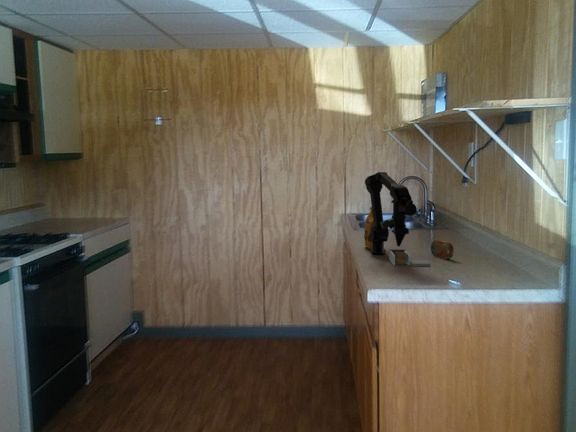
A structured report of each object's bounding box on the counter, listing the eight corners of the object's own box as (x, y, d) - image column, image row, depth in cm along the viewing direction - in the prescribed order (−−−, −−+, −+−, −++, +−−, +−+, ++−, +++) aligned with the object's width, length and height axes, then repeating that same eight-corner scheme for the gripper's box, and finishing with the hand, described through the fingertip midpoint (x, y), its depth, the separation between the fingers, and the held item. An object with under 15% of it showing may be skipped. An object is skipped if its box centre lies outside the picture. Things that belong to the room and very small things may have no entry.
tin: (430, 255, 277) (430, 238, 276) (435, 254, 278) (435, 238, 277) (448, 261, 263) (449, 243, 262) (454, 260, 264) (455, 242, 263)
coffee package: (366, 250, 289) (367, 208, 286) (362, 246, 301) (363, 206, 299) (385, 250, 289) (386, 208, 287) (381, 246, 302) (381, 206, 299)
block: (395, 262, 260) (395, 251, 259) (403, 262, 260) (403, 251, 259) (396, 264, 256) (396, 253, 255) (405, 264, 256) (405, 253, 255)
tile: (409, 262, 259) (409, 260, 259) (426, 262, 259) (426, 260, 259) (412, 266, 251) (412, 263, 251) (430, 266, 251) (430, 263, 251)
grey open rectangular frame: (389, 259, 266) (389, 249, 266) (405, 259, 266) (405, 249, 266) (393, 265, 254) (393, 254, 253) (410, 265, 253) (410, 254, 253)
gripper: (379, 211, 270) (378, 242, 272) (384, 215, 251) (383, 249, 253) (402, 211, 269) (401, 242, 271) (409, 216, 251) (408, 250, 253)
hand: (398, 246), depth 262 cm, fingers closed
